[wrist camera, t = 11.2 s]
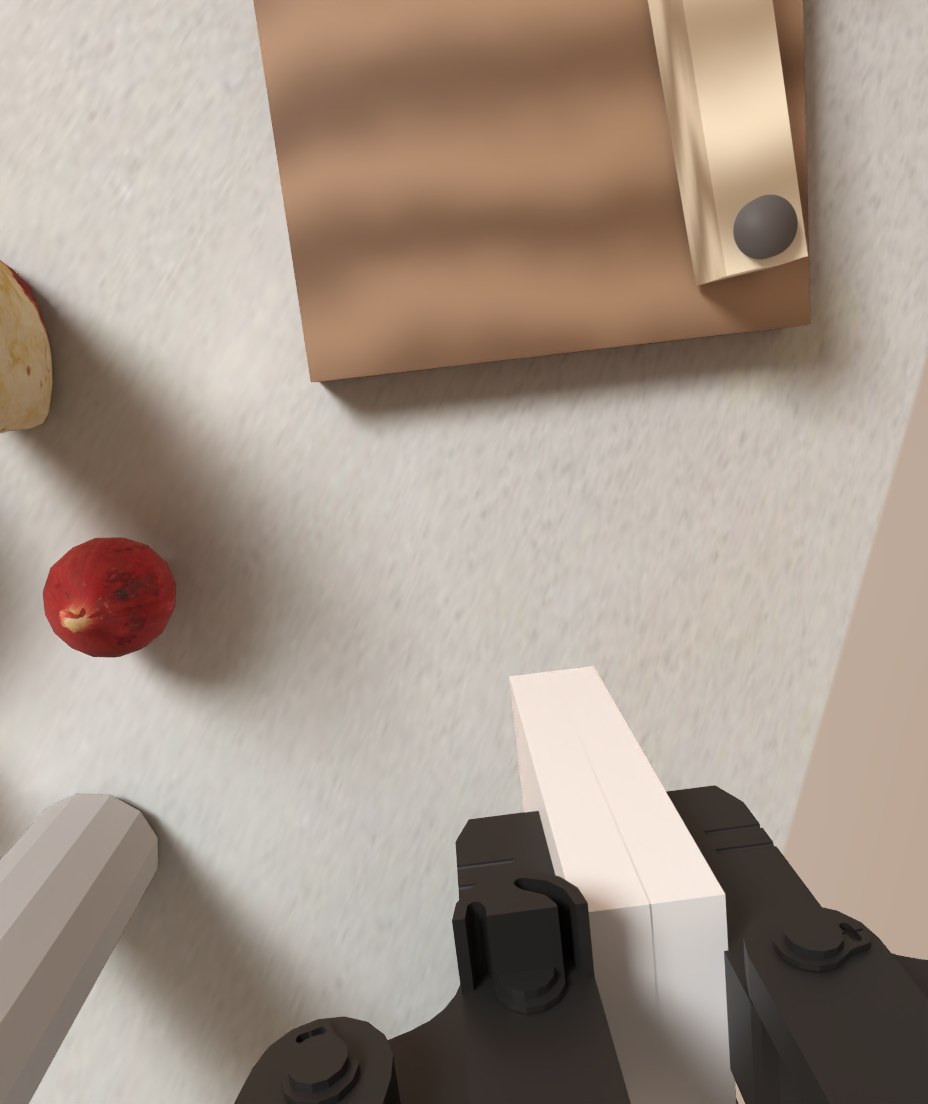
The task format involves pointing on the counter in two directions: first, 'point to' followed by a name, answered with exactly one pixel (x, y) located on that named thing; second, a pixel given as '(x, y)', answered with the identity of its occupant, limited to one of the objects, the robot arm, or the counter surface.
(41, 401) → the food model
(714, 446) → the counter surface
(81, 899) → the water bottle
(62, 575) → the onion
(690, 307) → the brown flat square block
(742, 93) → the folding leg
